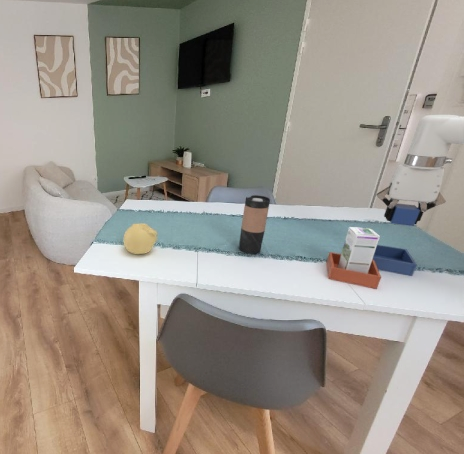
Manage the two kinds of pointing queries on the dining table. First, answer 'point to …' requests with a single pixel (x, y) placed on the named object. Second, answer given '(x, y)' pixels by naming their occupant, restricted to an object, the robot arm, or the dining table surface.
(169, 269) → the dining table surface
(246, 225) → the travel mug
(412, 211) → the blue block
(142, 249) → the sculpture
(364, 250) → the syrup box
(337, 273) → the terracotta bin
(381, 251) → the blue bin
